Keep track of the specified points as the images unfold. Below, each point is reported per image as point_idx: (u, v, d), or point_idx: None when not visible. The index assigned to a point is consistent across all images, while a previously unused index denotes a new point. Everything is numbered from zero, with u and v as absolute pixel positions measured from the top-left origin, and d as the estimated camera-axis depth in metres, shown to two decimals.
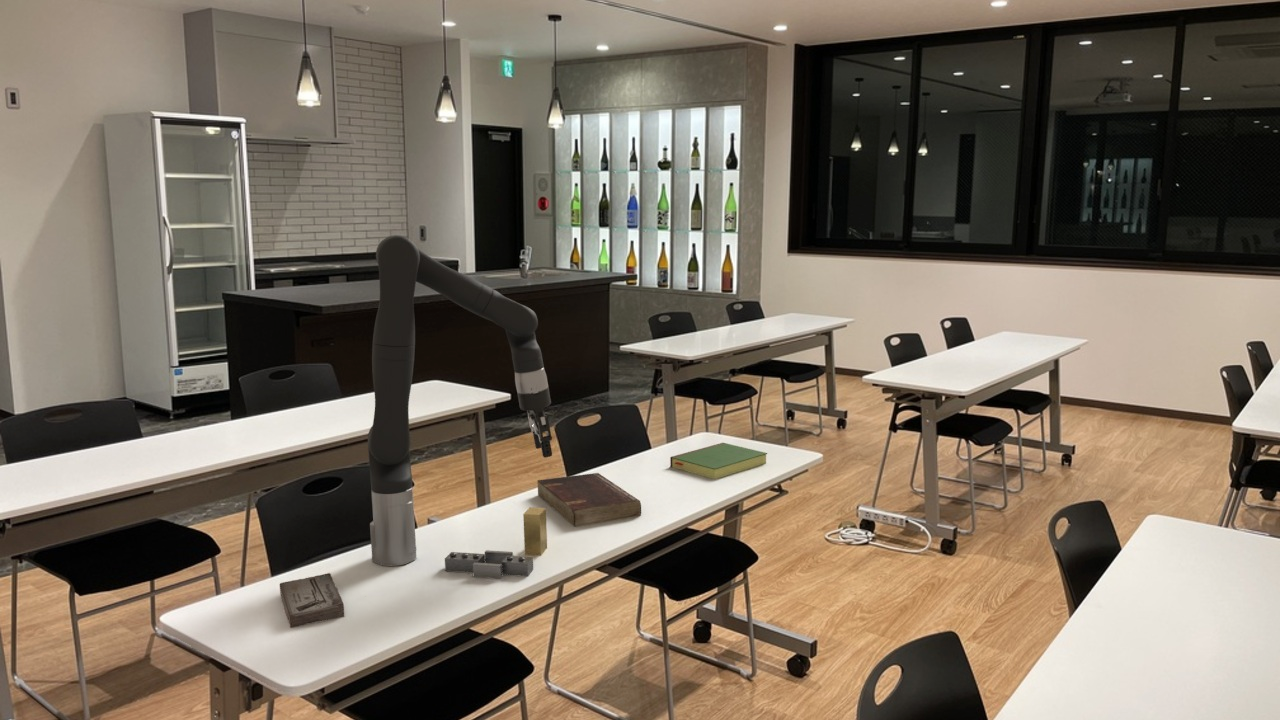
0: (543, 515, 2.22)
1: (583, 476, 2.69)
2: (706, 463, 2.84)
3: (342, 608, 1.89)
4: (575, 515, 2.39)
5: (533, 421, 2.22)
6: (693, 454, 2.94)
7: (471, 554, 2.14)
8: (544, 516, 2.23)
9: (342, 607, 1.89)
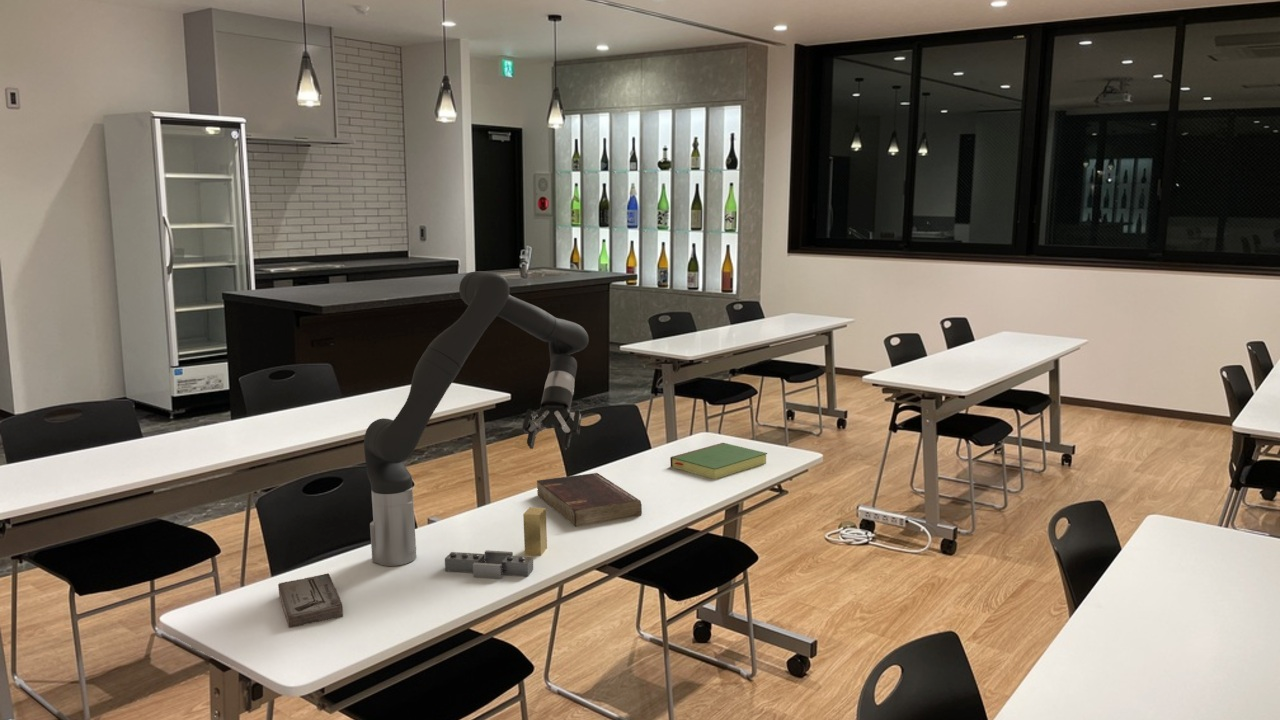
0: (543, 515, 2.22)
1: (582, 476, 2.69)
2: (706, 463, 2.84)
3: (341, 608, 1.89)
4: (575, 515, 2.39)
5: (560, 414, 2.34)
6: (693, 454, 2.94)
7: (471, 554, 2.14)
8: (544, 516, 2.23)
9: (341, 607, 1.89)
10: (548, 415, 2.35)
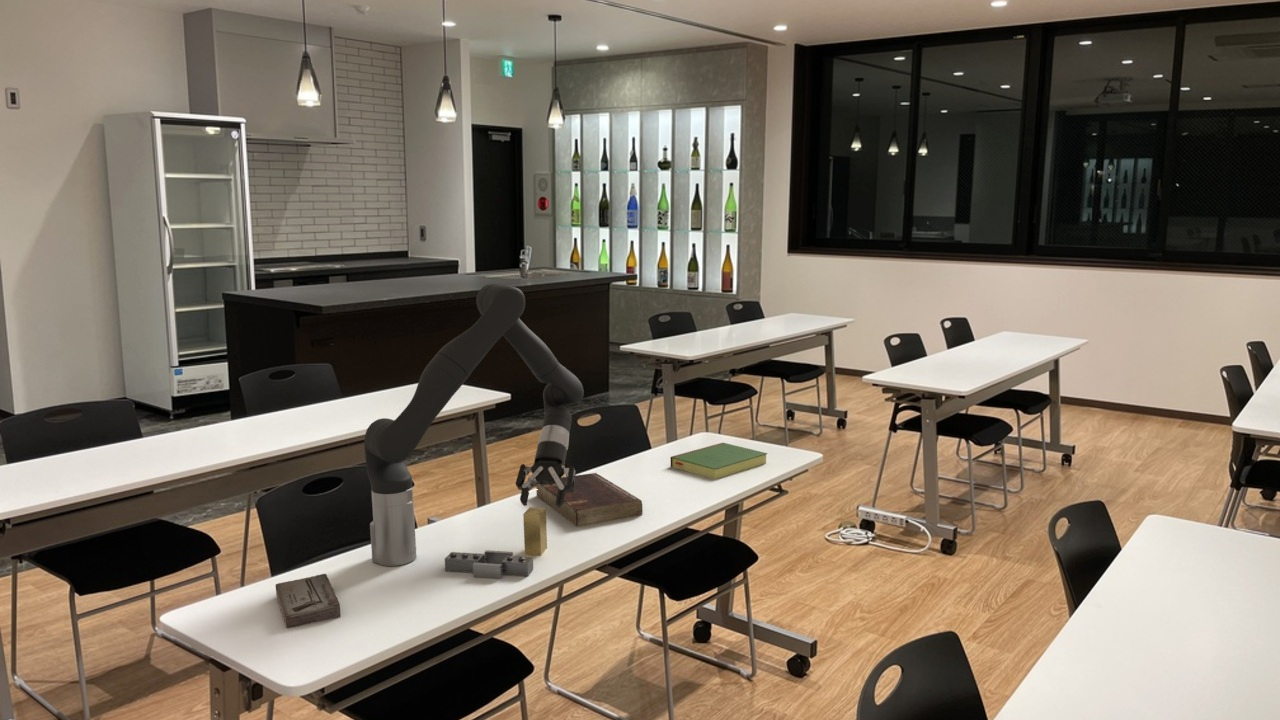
0: (543, 515, 2.22)
1: (581, 476, 2.69)
2: (706, 463, 2.84)
3: (338, 608, 1.89)
4: (577, 515, 2.39)
5: (554, 470, 2.30)
6: (693, 454, 2.94)
7: (471, 554, 2.14)
8: (544, 516, 2.23)
9: (338, 607, 1.89)
10: (542, 471, 2.31)
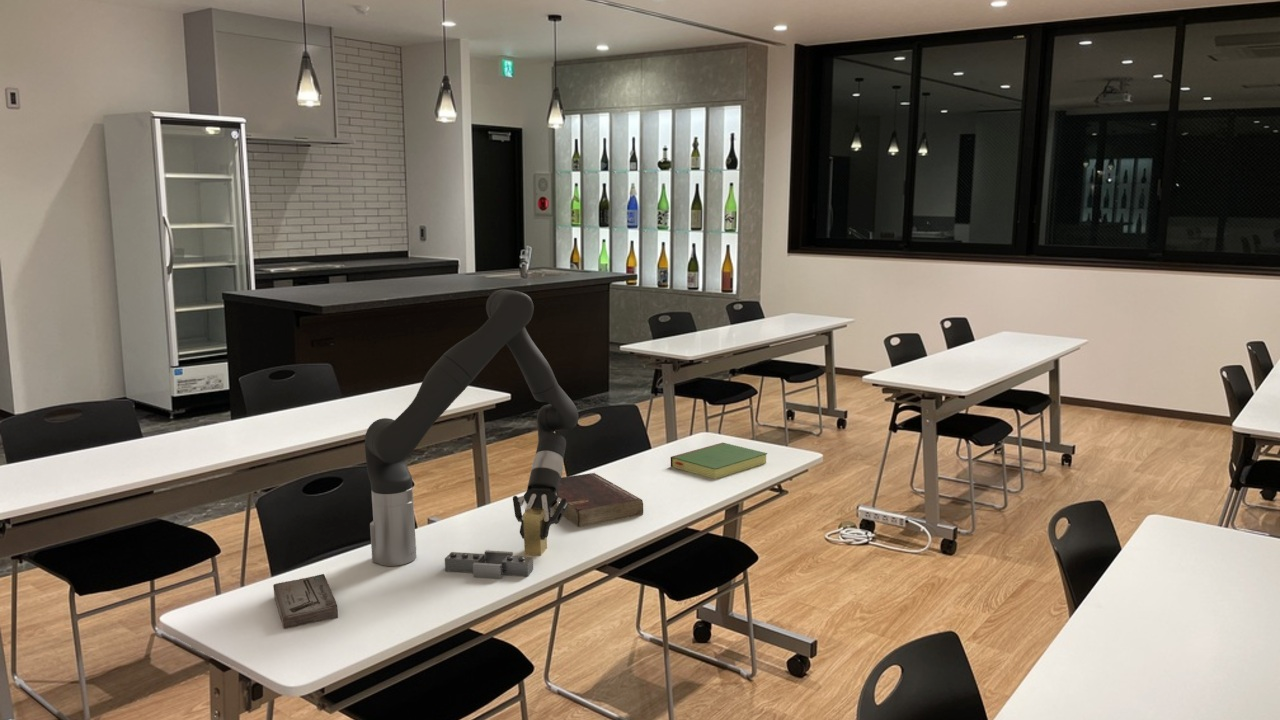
0: (543, 515, 2.22)
1: (580, 476, 2.69)
2: (706, 463, 2.84)
3: (336, 609, 1.88)
4: (579, 515, 2.39)
5: (547, 499, 2.24)
6: (693, 454, 2.94)
7: (471, 554, 2.14)
8: None
9: (336, 608, 1.88)
10: (535, 499, 2.25)
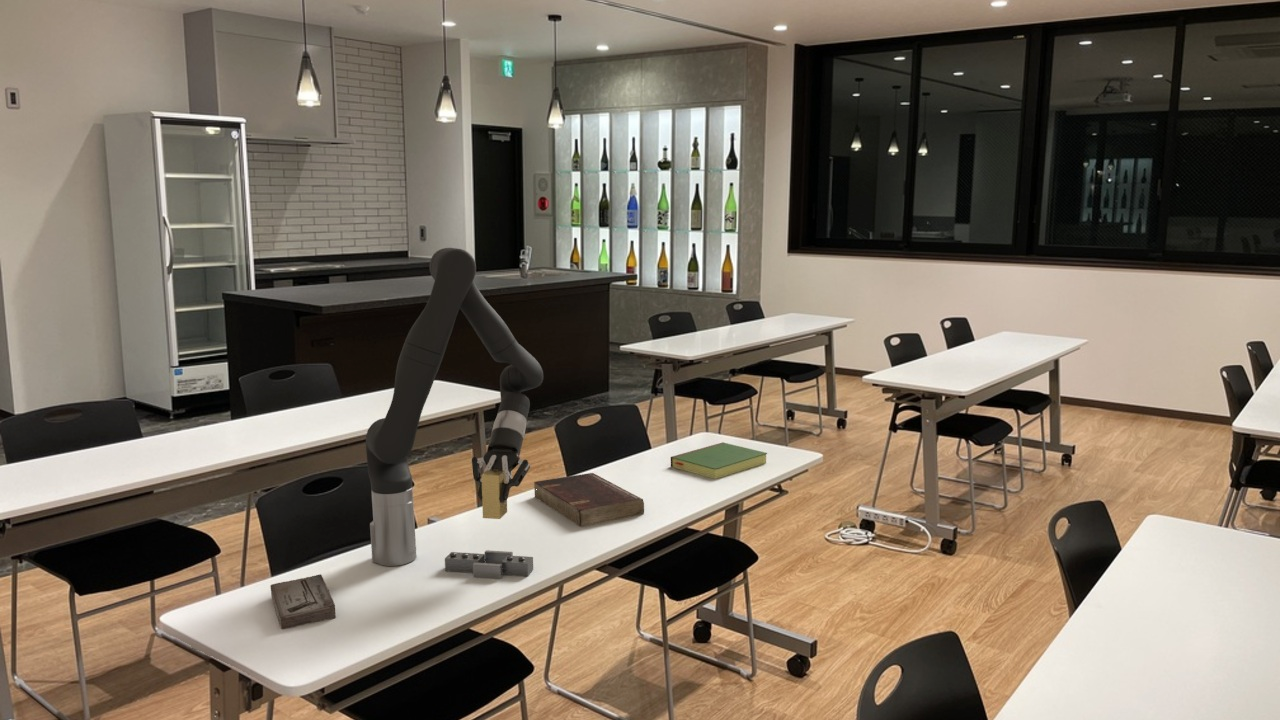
0: (503, 477, 2.10)
1: (579, 476, 2.69)
2: (706, 463, 2.84)
3: (333, 609, 1.88)
4: (581, 515, 2.39)
5: (507, 461, 2.12)
6: (693, 454, 2.94)
7: (471, 554, 2.14)
8: None
9: (333, 608, 1.88)
10: (495, 460, 2.13)
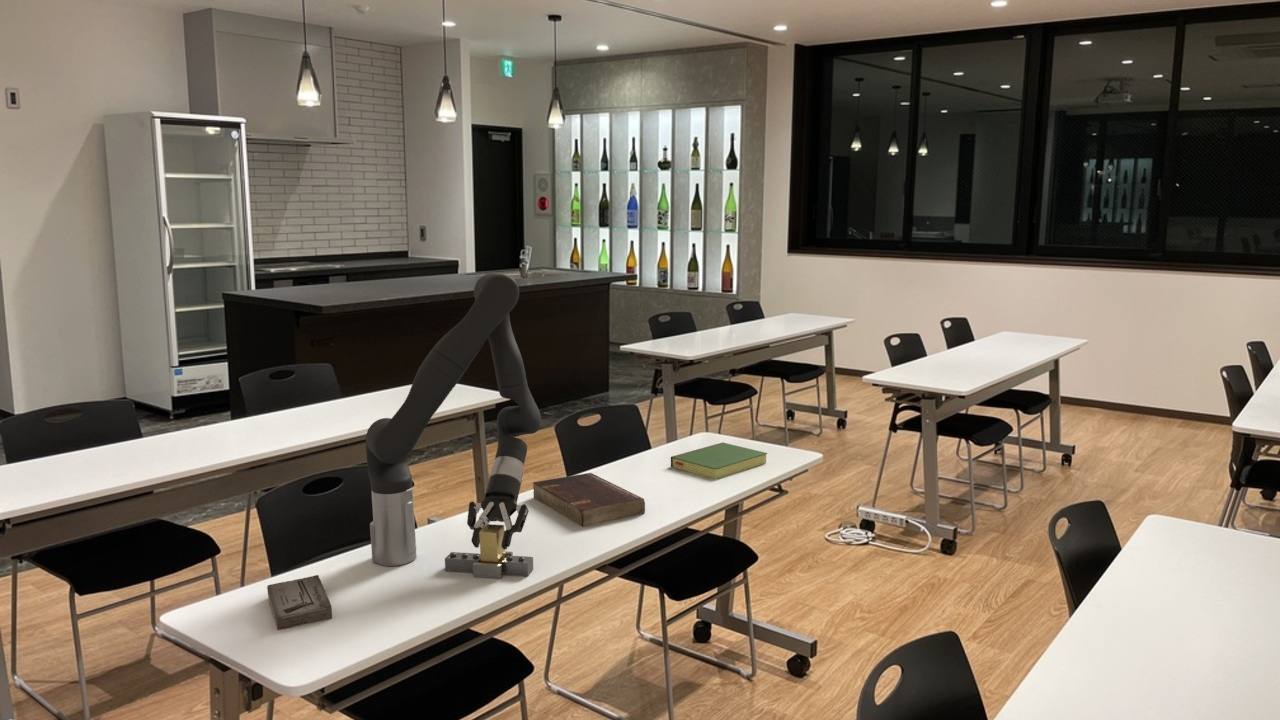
0: (501, 533, 2.10)
1: (577, 476, 2.68)
2: (706, 463, 2.84)
3: (330, 610, 1.88)
4: (583, 515, 2.39)
5: (505, 507, 2.13)
6: (693, 454, 2.94)
7: (471, 554, 2.14)
8: (502, 534, 2.11)
9: (330, 609, 1.88)
10: (492, 507, 2.13)
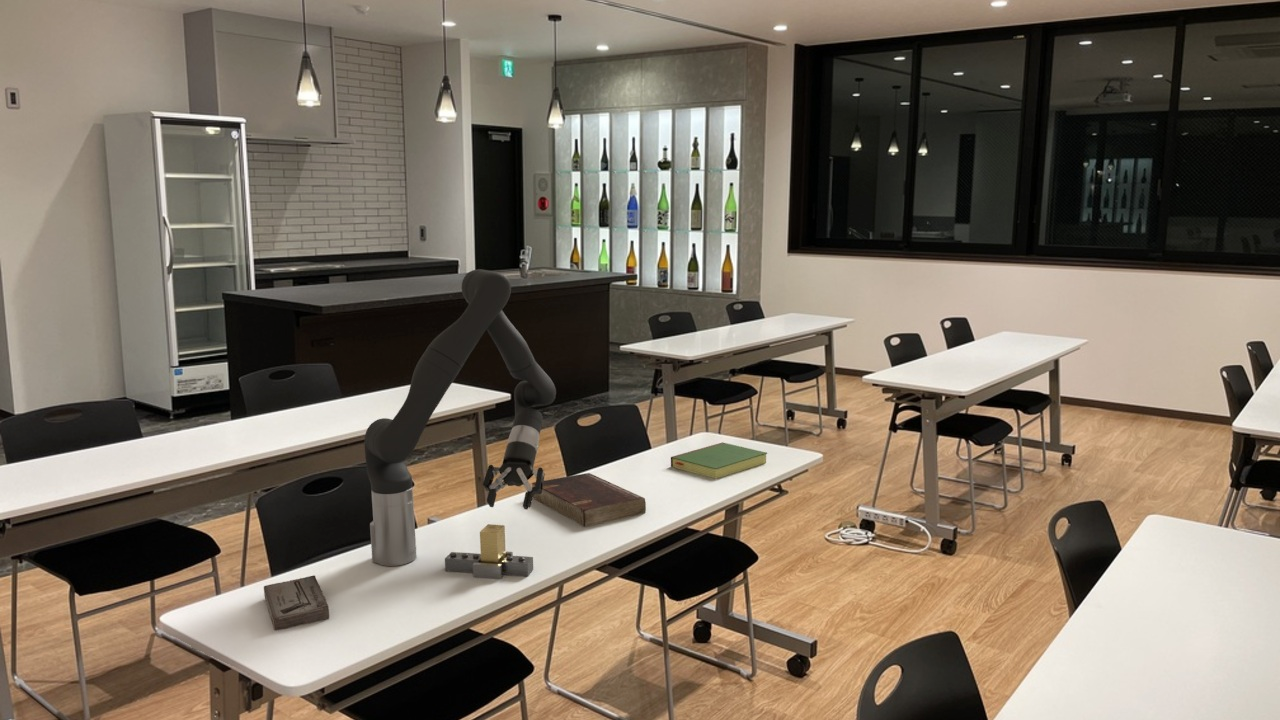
0: (501, 533, 2.10)
1: (576, 477, 2.68)
2: (707, 463, 2.84)
3: (327, 610, 1.88)
4: (585, 515, 2.39)
5: (523, 472, 2.25)
6: (693, 454, 2.94)
7: (471, 554, 2.14)
8: (502, 534, 2.11)
9: (327, 609, 1.88)
10: (510, 472, 2.26)
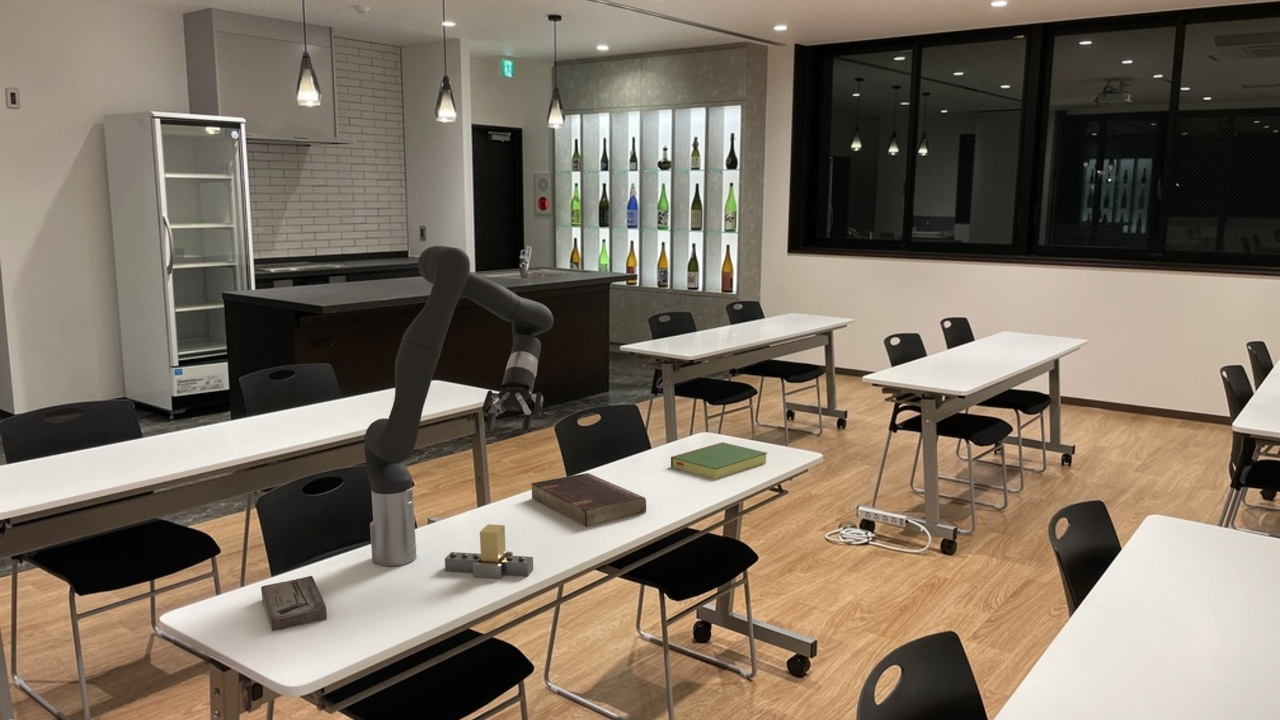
0: (501, 533, 2.10)
1: (575, 477, 2.68)
2: (707, 463, 2.84)
3: (324, 611, 1.88)
4: (586, 515, 2.39)
5: (521, 396, 2.26)
6: (693, 454, 2.94)
7: (471, 554, 2.14)
8: (502, 534, 2.11)
9: (324, 610, 1.88)
10: (509, 397, 2.26)
